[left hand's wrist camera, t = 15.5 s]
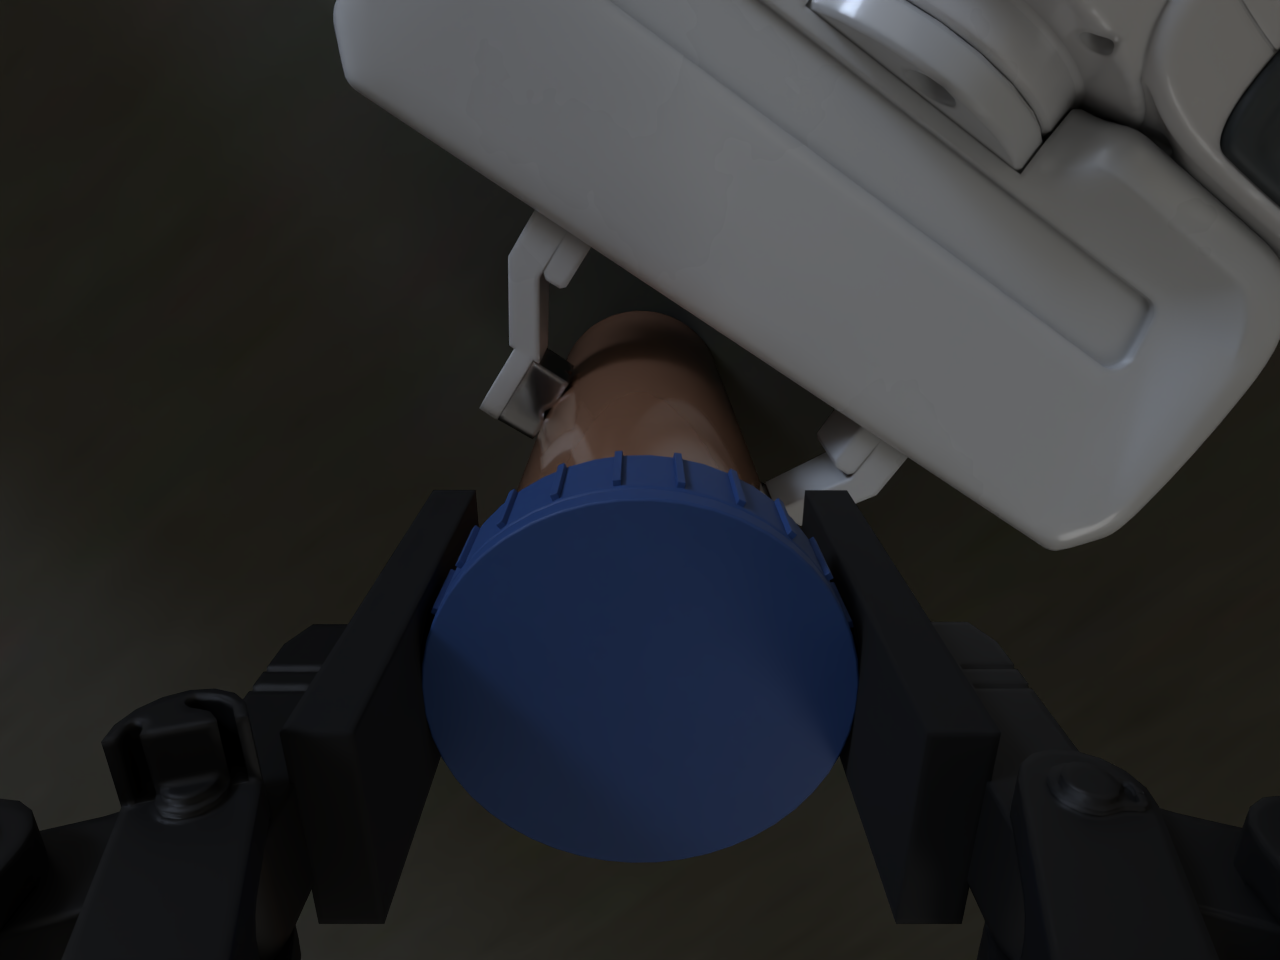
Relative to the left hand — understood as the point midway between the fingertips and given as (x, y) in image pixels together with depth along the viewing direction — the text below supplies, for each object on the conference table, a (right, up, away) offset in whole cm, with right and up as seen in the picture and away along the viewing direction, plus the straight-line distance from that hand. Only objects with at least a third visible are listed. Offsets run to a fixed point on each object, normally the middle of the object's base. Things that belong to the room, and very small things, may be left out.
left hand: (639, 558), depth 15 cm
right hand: (0, +1, +5) cm, 6 cm away
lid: (0, -1, -4) cm, 4 cm away
